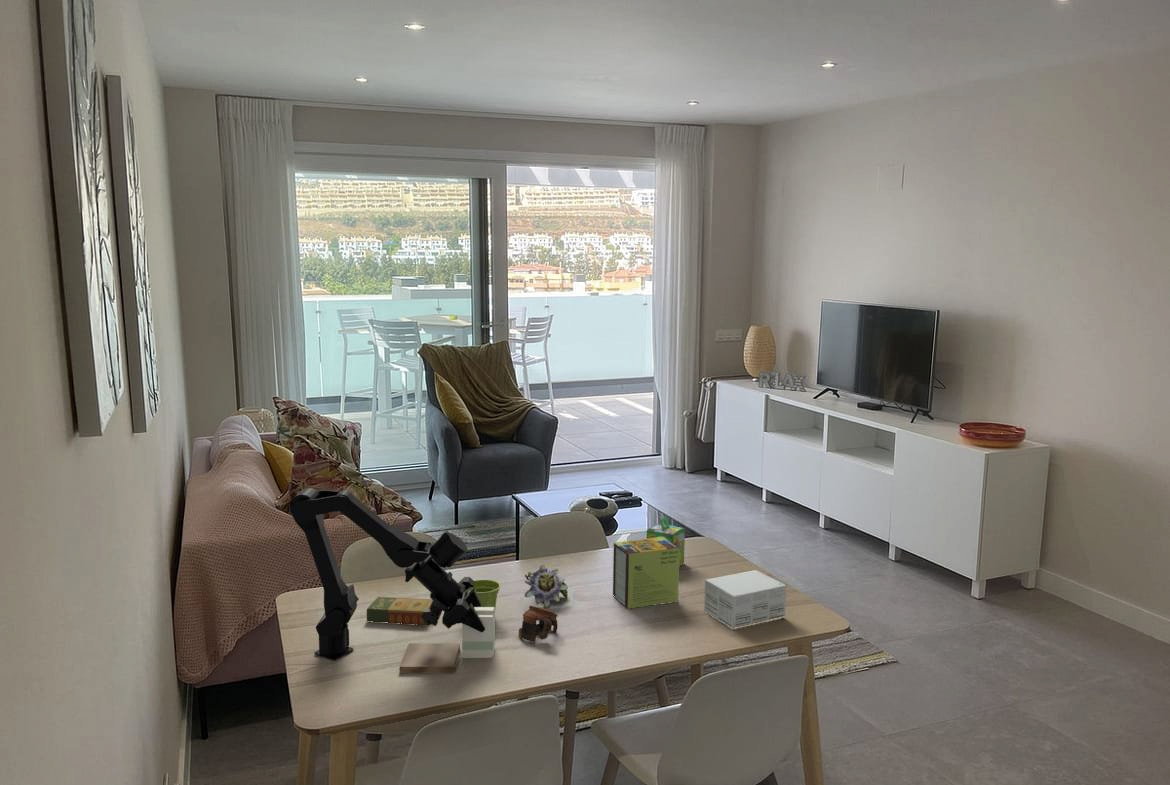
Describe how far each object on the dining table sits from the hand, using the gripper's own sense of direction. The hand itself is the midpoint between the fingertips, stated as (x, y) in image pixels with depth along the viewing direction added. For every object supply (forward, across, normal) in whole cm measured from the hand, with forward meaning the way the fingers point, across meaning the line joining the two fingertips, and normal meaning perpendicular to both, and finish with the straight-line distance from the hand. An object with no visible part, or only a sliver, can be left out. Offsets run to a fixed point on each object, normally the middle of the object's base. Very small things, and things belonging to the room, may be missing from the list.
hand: (484, 625), depth 202 cm
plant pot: (+3, -20, -6) cm, 22 cm away
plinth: (-4, +4, -13) cm, 14 cm away
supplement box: (+52, -22, +42) cm, 70 cm away
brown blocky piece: (+14, -9, +4) cm, 17 cm away
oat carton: (+4, 0, -6) cm, 7 cm away
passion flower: (+14, -32, +5) cm, 35 cm away
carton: (-11, -21, -21) cm, 32 cm away
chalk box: (+40, -60, +31) cm, 79 cm away
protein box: (+34, -33, +24) cm, 53 cm away
